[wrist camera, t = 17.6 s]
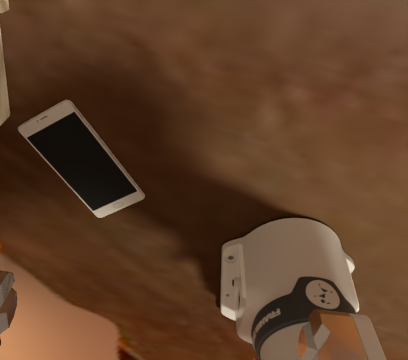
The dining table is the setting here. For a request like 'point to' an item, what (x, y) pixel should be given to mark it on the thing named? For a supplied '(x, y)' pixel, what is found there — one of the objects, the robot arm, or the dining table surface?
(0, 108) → the beige stepped box
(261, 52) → the dining table surface
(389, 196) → the dining table surface
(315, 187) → the dining table surface
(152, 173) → the dining table surface
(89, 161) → the smartphone
